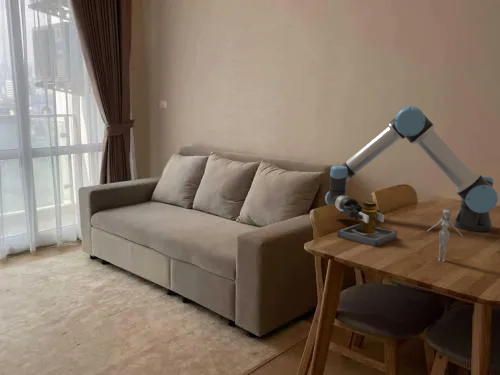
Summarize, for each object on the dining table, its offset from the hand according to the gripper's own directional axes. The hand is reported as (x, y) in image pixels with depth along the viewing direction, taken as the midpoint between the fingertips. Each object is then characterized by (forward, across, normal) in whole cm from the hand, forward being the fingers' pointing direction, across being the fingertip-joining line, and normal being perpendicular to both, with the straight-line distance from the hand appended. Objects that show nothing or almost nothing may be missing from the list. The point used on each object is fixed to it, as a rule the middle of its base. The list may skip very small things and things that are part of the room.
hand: (375, 219), depth 190 cm
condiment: (-5, +1, -7) cm, 9 cm away
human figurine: (+25, -12, -9) cm, 29 cm away
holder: (-5, 0, -9) cm, 10 cm away
